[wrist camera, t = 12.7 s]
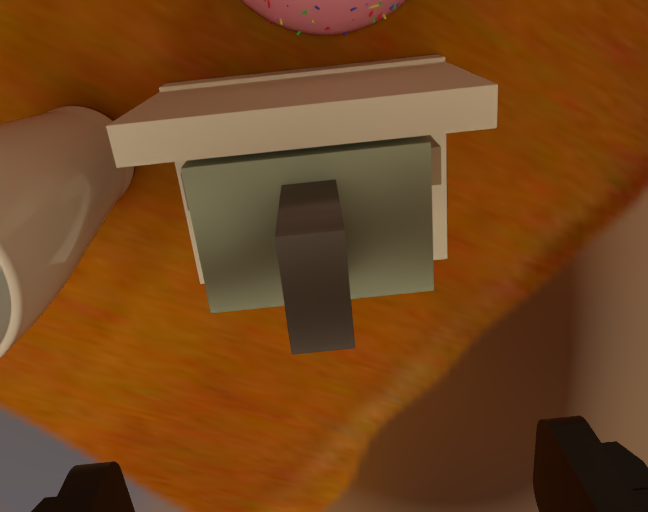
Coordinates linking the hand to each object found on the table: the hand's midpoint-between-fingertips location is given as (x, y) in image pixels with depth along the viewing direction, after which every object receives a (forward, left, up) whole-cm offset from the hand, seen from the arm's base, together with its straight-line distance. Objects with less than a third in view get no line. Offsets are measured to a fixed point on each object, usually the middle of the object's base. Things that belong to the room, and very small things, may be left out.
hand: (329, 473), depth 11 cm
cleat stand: (-1, 0, -21) cm, 21 cm away
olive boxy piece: (0, 0, -20) cm, 20 cm away
